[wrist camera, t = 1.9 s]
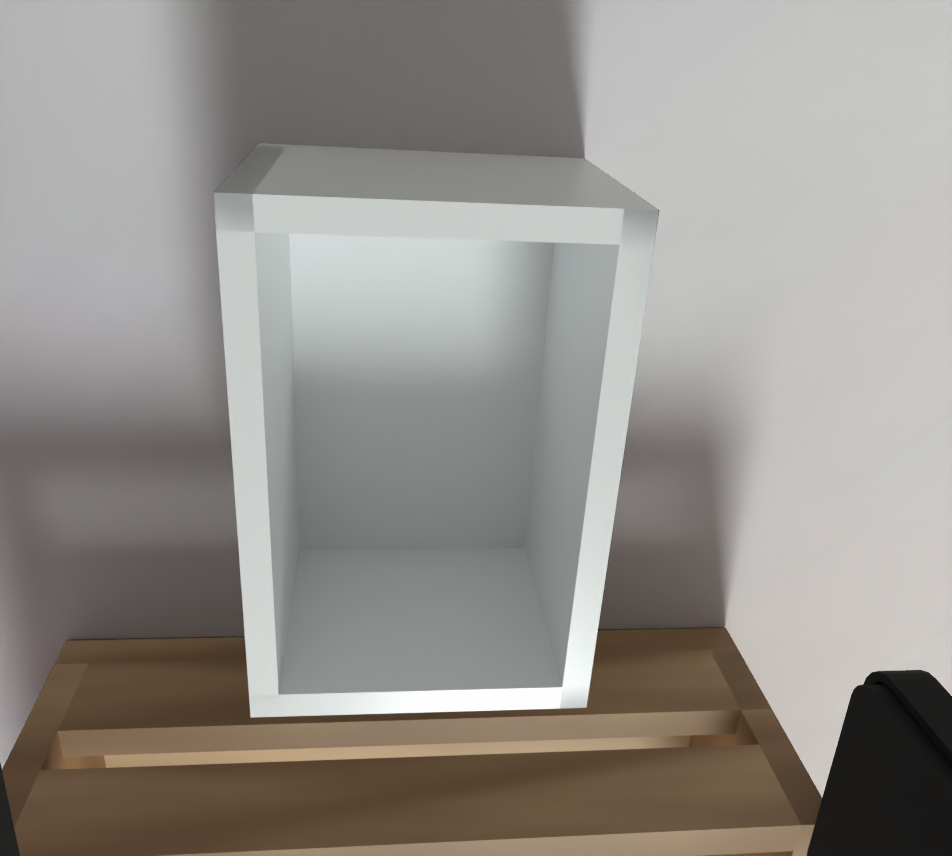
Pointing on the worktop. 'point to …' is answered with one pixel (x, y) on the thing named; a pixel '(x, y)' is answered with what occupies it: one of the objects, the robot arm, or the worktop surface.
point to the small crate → (426, 421)
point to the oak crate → (407, 763)
